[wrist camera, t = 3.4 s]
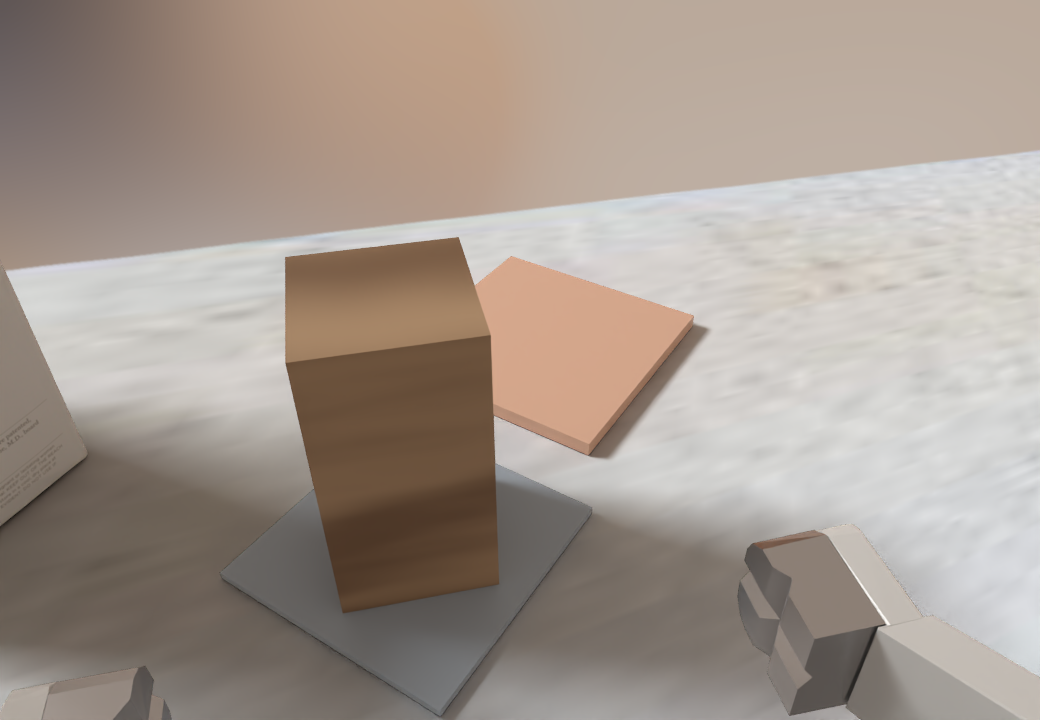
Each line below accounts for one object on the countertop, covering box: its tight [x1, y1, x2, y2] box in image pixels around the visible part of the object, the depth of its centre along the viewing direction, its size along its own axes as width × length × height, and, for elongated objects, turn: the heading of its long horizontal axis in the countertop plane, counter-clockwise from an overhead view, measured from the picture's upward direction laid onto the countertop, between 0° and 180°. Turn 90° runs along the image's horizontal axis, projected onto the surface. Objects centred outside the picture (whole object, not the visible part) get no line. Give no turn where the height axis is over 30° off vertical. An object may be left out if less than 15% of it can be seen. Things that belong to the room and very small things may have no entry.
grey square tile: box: [220, 463, 592, 717], centre depth 28 cm, size 9×9×1 cm
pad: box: [475, 256, 694, 455], centre depth 37 cm, size 10×10×1 cm
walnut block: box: [285, 237, 499, 613], centre depth 25 cm, size 5×5×10 cm
